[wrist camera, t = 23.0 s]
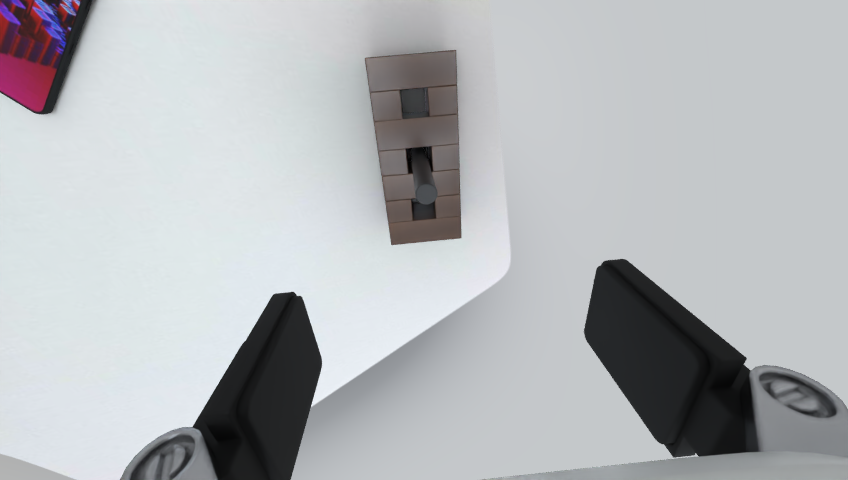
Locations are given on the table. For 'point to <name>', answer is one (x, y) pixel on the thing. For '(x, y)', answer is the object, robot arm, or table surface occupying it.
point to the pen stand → (417, 142)
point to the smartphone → (38, 48)
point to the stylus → (423, 177)
